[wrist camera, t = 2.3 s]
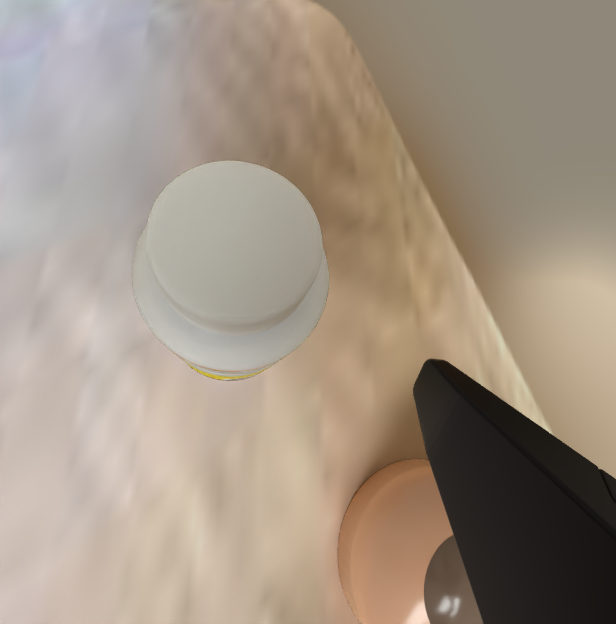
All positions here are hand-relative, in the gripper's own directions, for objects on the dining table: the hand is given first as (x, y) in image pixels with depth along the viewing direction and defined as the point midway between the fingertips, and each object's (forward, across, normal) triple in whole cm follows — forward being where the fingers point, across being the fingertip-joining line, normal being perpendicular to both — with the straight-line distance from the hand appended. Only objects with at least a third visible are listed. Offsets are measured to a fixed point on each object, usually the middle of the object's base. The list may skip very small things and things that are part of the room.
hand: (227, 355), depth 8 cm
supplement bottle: (+9, 0, +5) cm, 10 cm away
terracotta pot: (+2, -10, +12) cm, 16 cm away
